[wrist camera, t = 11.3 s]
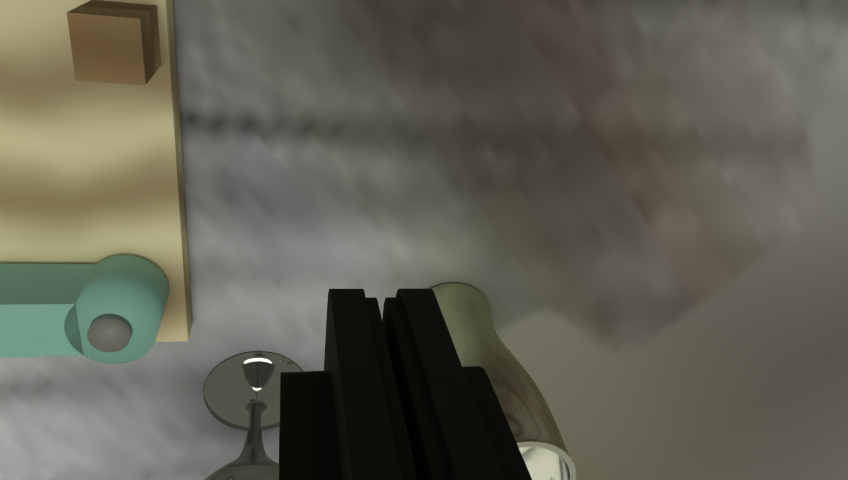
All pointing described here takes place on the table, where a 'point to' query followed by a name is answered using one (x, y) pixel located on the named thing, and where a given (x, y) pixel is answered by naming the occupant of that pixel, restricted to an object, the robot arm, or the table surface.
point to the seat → (93, 140)
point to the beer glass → (506, 381)
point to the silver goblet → (248, 408)
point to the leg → (82, 309)
